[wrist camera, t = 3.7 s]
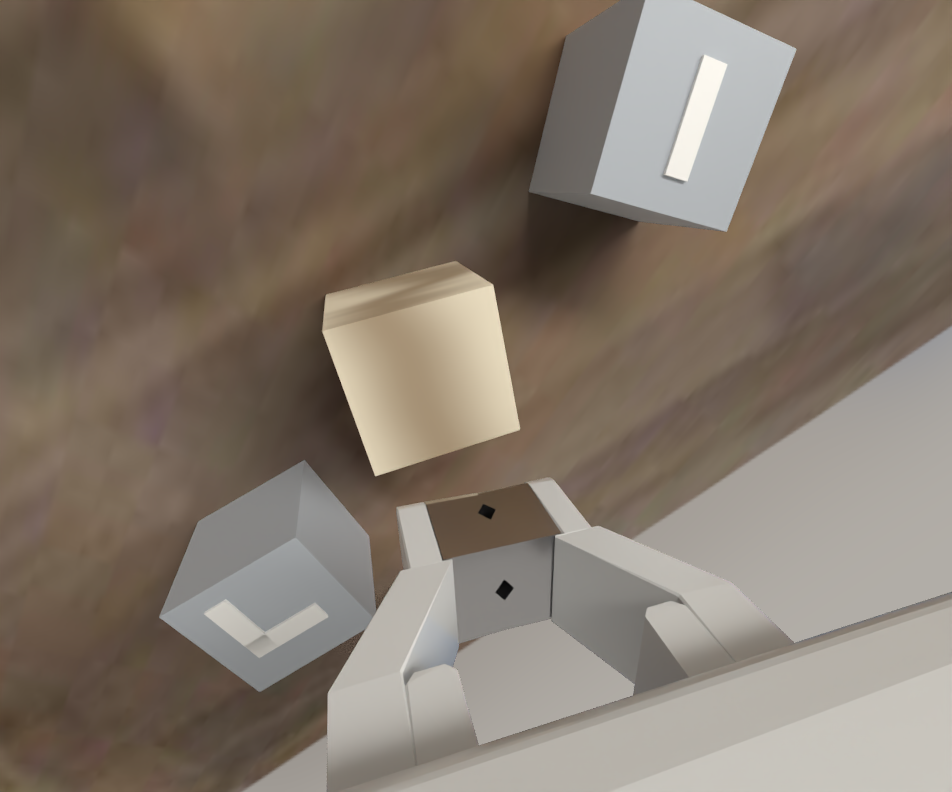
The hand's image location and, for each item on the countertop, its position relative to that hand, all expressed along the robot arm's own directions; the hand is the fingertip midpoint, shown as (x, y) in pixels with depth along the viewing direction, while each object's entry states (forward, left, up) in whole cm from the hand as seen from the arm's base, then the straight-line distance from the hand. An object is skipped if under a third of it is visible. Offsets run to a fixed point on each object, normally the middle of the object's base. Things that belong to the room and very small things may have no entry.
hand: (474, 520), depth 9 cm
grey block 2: (-8, -7, -11) cm, 16 cm away
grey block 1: (+6, +8, -11) cm, 15 cm away
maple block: (0, 0, -11) cm, 11 cm away
